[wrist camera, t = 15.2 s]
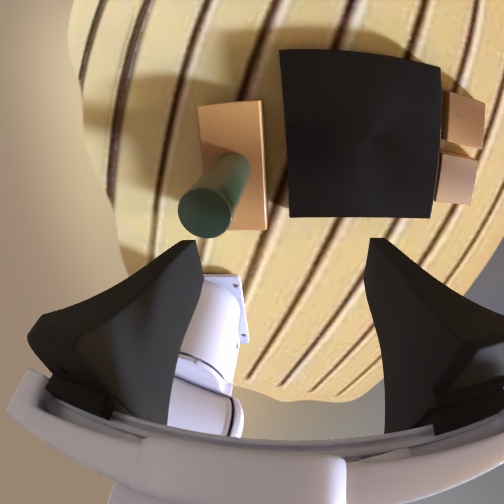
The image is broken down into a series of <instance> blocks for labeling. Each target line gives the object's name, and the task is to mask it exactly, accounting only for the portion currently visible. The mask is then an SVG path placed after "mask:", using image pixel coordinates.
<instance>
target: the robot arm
mask: <svg viewBox="0 0 504 504" xmlns="http://www.w3.org/2000/svg"><path fill="white" fill-rule="evenodd" d="M363 279H364V285H365V291H366V296H367V301H368V304H369V308H370V311H371V314H372V318H373V321H374V325H375V328H376V332H377V336H378V339H379V343H380V348H381V354H382V363H383V372H384V385H385V431H384V434H381V435H375V436H367V437H358V438H347V439H334V440H311V441H309V440H308V441H288V440H287V441H286V440H263V439H249V438H240V437H241V434H242V430H243V423H244V414H243V410H242V407H241V404H240V401H239V400H238V399H237V398H236V397H233V396H231V393H232V388H233V384H232V382H233V377H234V372H235V366H236V361H237V356H238V351H239V345H240V343H242V344H246V343H248V342H249V333H248V326H247V320H246V313H245V306H244V299H243V292H242V285H241V279H240V277H239V276H238V275H235V274H203V271H202V267H201V263H200V258H199V254H198V249H197V245H196V241H195V240H182V241H180V242H178V243H177V244H175V245H174V246H172V247H171V248H169V249H168V250H167V251H165V252H164V253H163V254H161V255H160V256H158V257H157V258H156V259H154V260H153V261H152V262H150V263H149V264H147V265H146V266H145V267H143V268H142V269H140V270H139V271H137V272H136V273H134V274H133V275H132V276H130V277H128V278H127V279H125V280H124V281H122V282H120V283H119V284H117V285H115V286H114V287H112V288H110V289H108V290H106V291H104V292H102V293H100V294H98V295H96V296H94V297H92V298H90V299H87V300H85V301H83V302H80V303H78V304H75V305H73V306H70V307H67V308H64V309H61V310H57V311H54V312H51V313H47V314H43V315H42V316H41V317H40V318H39V319H38V321H37V322H36V324H35V325H34V326H33V328H32V329H31V330H30V332H29V333H28V335H27V339H28V343H29V345H30V347H31V348H32V350H33V351H34V353H35V354H36V355H37V356H38V357H39V359H40V360H41V361H42V362H43V363H44V365H45V366H46V367H47V368H48V369H49V370H50V371H51V372H52V373H53V375H52V377H51V378H50V379H49V378H48V377H46V376H45V375H43V374H41V373H39V372H37V371H35V370H33V369H31V368H29V369H28V370H27V372H26V373H25V375H24V377H23V379H22V380H21V382H20V384H19V386H18V387H17V389H16V391H15V393H14V395H13V397H12V399H11V401H10V402H9V405H8V406H7V408H6V410H5V411H6V413H7V414H8V415H9V416H10V417H11V418H13V419H14V420H15V421H16V422H18V423H19V424H20V425H22V426H23V427H24V428H25V429H27V430H28V431H29V432H31V433H32V434H34V435H35V436H36V437H38V438H39V439H41V440H42V441H44V442H45V443H47V444H48V445H50V446H51V447H53V448H54V449H56V450H57V451H59V452H61V453H62V454H64V455H66V456H67V457H69V458H71V459H73V460H74V461H76V462H78V463H80V464H82V465H83V466H85V467H88V468H89V469H91V470H93V471H95V472H97V473H99V474H101V475H104V476H106V477H108V478H110V479H113V480H114V483H113V486H112V489H111V492H110V495H109V497H108V500H107V503H106V504H406V503H409V502H413V501H416V500H420V499H423V498H426V497H429V496H432V495H435V494H437V493H441V492H443V491H446V490H449V489H451V488H453V487H456V486H458V485H461V484H463V483H465V482H468V481H470V480H472V479H474V478H476V477H478V476H480V475H482V474H484V473H486V472H488V471H490V470H492V469H494V468H496V467H497V466H499V465H501V464H503V463H504V389H503V387H504V315H501V314H498V313H496V312H493V311H491V310H489V309H487V308H485V307H482V306H480V305H478V304H476V303H474V302H472V301H471V300H469V299H467V298H465V297H463V296H462V295H460V294H458V293H457V292H455V291H453V290H452V289H450V288H449V287H447V286H446V285H444V284H443V283H441V282H440V281H438V280H437V279H435V278H434V277H433V276H431V275H430V274H429V273H427V272H426V271H425V270H423V269H422V268H421V267H420V266H418V265H417V264H416V263H415V262H413V261H412V260H411V259H410V258H409V257H407V256H406V255H405V254H404V253H403V252H401V251H400V250H399V249H398V248H397V247H395V246H394V245H393V244H392V243H390V242H389V241H388V240H386V239H385V238H370V243H369V249H368V255H367V261H366V267H365V273H364V278H363ZM233 283H236V284H238V285H235V284H233ZM351 462H352V463H351Z"/></svg>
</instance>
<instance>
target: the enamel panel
mask: <svg viewBox="0 0 504 504" xmlns="http://www.w3.org/2000/svg"><path fill="white" fill-rule="evenodd" d="M279 56H280V67H281V78H282V90H283V102H284V116H285V131H286V148H287V167H288V190H289V217H290V218H297V217H389V218H430V216H431V211H432V205H433V199H434V193H435V187H436V180H437V172H438V163H439V153H440V139H441V117H442V91H441V69H440V67H437V66H433V65H429V64H425V63H421V62H417V61H412V60H407V59H402V58H397V57H391V56H385V55H379V54H371V53H363V52H354V51H342V50H324V49H282V50H279Z"/></svg>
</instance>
